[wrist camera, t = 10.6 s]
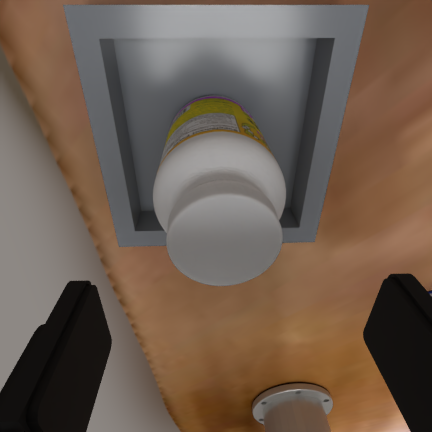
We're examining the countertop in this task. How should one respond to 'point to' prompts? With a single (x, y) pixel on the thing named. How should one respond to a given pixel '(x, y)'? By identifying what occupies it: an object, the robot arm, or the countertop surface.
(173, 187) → the supplement bottle
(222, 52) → the gray rectangular tray
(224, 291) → the countertop surface
